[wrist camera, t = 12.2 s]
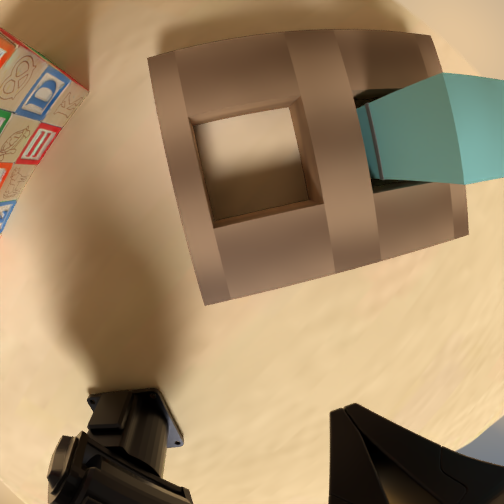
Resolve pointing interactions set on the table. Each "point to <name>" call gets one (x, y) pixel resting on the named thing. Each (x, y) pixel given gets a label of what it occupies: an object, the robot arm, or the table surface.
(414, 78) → the walnut board
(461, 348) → the table surface
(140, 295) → the table surface
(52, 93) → the stack of blocks
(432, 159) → the teal peg
